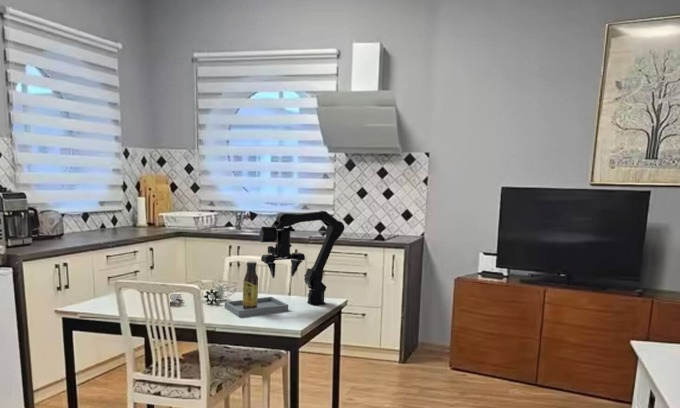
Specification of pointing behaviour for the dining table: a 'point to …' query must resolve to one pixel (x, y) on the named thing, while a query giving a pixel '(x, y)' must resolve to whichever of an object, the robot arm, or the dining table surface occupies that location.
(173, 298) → the penguin figurine
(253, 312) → the tray
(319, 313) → the dining table surface
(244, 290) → the sauce bottle
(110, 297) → the dining table surface
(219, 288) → the valve
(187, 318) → the dining table surface
